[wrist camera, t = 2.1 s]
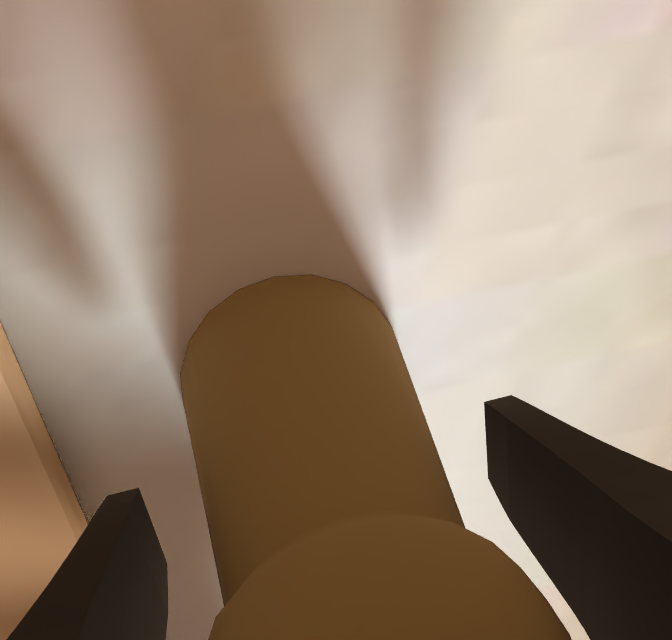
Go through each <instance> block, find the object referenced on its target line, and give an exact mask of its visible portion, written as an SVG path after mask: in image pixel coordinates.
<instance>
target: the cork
mask: <svg viewBox="0 0 672 640" xmlns="http://www.w3.org/2000/svg"><path fill="white" fill-rule="evenodd" d="M180 374H181V384H182V394H183V404H184V409H185V414H186V419H187V424H188V429H189V434H190V439H191V444H192V449H193V454H194V459H195V464H196V469H197V474H198V479H199V484H200V489H201V493H202V498H203V503H204V508H205V513H206V518H207V523H208V528H209V533H210V538H211V543H212V548H213V553H214V558H215V563H216V568H217V573H218V578H219V583H220V588H221V593H222V598H223V603H224V608H223V609H222V610H221V612H220V613H219V614H218V615H217V616H216V618H215V621H214V624H213V627H212V630H211V633H210V636H209V639H208V640H571V637H570V634H569V633H568V631H567V630H566V628H565V627H564V625H563V624H562V622H561V621H560V619H559V618H558V616H557V615H556V613H555V612H554V610H553V609H552V607H551V605H550V604H549V602H548V601H547V599H546V598H545V597H544V596H543V594H542V593H541V592H540V591H539V590H538V588H537V587H536V586H535V585H534V583H533V582H532V581H531V580H530V579H529V577H528V576H527V575H526V574H525V572H524V571H523V570H522V569H521V568H520V567H519V566H518V565H517V564H516V563H515V562H514V561H513V560H512V559H510V558H509V557H508V556H507V555H506V554H505V553H504V552H503V551H502V550H501V549H499V548H498V547H497V546H496V545H495V544H494V543H493V542H491V541H489V540H487V539H485V538H483V537H481V536H479V535H477V534H475V533H473V532H471V531H469V530H467V529H465V526H464V523H463V520H462V518H461V515H460V512H459V509H458V507H457V504H456V501H455V498H454V496H453V493H452V490H451V488H450V485H449V482H448V479H447V477H446V474H445V471H444V468H443V466H442V463H441V460H440V457H439V455H438V452H437V449H436V446H435V444H434V441H433V438H432V435H431V433H430V430H429V427H428V424H427V422H426V419H425V416H424V414H423V411H422V408H421V405H420V403H419V400H418V397H417V394H416V392H415V389H414V386H413V383H412V381H411V378H410V375H409V372H408V370H407V367H406V364H405V361H404V359H403V356H402V353H401V350H400V348H399V345H398V342H397V339H396V337H395V334H394V331H393V329H392V326H391V325H390V324H389V322H388V321H387V320H386V318H385V317H384V316H383V314H382V313H381V312H380V310H379V309H378V308H377V306H376V305H375V304H374V302H373V301H371V300H370V299H368V298H367V297H365V296H363V295H362V294H360V293H359V292H357V291H356V290H354V289H353V288H351V287H350V286H348V285H347V284H345V283H341V282H337V281H333V280H329V279H325V278H321V277H318V276H314V275H299V276H280V277H272V278H269V279H267V280H264V281H261V282H258V283H256V284H253V285H250V286H247V287H245V288H242V289H239V290H238V291H236V292H235V293H234V294H232V295H231V296H230V297H228V298H227V299H226V300H224V301H223V302H222V303H220V304H219V305H218V306H216V307H215V308H214V309H213V310H211V311H210V312H209V313H208V314H207V316H206V317H205V319H204V320H203V322H202V323H201V325H200V326H199V327H198V329H197V330H196V332H195V333H194V335H193V336H192V338H191V339H190V340H189V343H188V347H187V351H186V354H185V358H184V362H183V365H182V369H181V373H180Z"/></svg>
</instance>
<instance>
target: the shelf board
mask: <svg viewBox="0 0 672 640" xmlns="http://www.w3.org/2000/svg"><path fill="white" fill-rule="evenodd" d="M87 526H88V524H87V521H86V519H85V517H84V514H83V512H82V510H81V507H80V505H79V503H78V500H77V498H76V496H75V493H74V491H73V489H72V487H71V484H70V482H69V480H68V477H67V475H66V473H65V470H64V468H63V466H62V463H61V461H60V459H59V457H58V454H57V452H56V450H55V447H54V445H53V443H52V440H51V438H50V436H49V433H48V431H47V429H46V427H45V424H44V422H43V420H42V417H41V415H40V413H39V410H38V408H37V406H36V403H35V401H34V399H33V396H32V394H31V392H30V390H29V387H28V385H27V383H26V380H25V378H24V376H23V373H22V371H21V369H20V366H19V364H18V362H17V360H16V357H15V355H14V353H13V350H12V348H11V346H10V343H9V341H8V339H7V336H6V334H5V332H4V330H3V327H2V325H1V323H0V640H6V639H7V638H8V637H9V635H10V634H11V633H12V632H13V630H14V629H15V628H16V627H17V625H18V624H19V623H20V621H21V620H22V619H23V617H24V616H25V615H26V613H27V612H28V611H29V609H30V608H31V607H32V605H33V604H34V603H35V601H36V600H37V599H38V597H39V596H40V595H41V593H42V592H43V591H44V589H45V588H46V586H47V585H48V584H49V582H50V581H51V579H52V578H53V576H54V575H55V573H56V572H57V571H58V569H59V568H60V566H61V565H62V563H63V562H64V560H65V559H66V557H67V556H68V554H69V553H70V551H71V550H72V548H73V547H74V545H75V544H76V542H77V541H78V539H79V538H80V536H81V535H82V533H83V532H84V530H85V529H86V527H87Z"/></svg>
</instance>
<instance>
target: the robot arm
mask: <svg viewBox="0 0 672 640" xmlns="http://www.w3.org/2000/svg"><path fill="white" fill-rule="evenodd" d="M484 407H485V426H486V445H487V464H488V479H489V481H490V483H491V485H492V487H493V489H494V491H495V493H496V495H497V497H498V499H499V501H500V503H501V505H502V506H503V508H504V510H505V512H506V514H507V516H508V518H509V519H510V521H511V523H512V524H513V525H514V527H515V528H516V530H517V531H518V533H519V534H520V536H521V537H522V539H523V540H524V542H525V543H526V545H527V546H528V547H529V549H530V550H531V552H532V553H533V555H534V556H535V558H536V559H537V560H538V562H539V563H540V565H541V566H542V568H543V569H544V570H545V572H546V573H547V575H548V576H549V578H550V579H551V580H552V582H553V583H554V585H555V586H556V588H557V589H558V591H559V592H560V593H561V595H562V596H563V598H564V599H565V601H566V602H567V603H568V605H569V606H570V608H571V609H572V611H573V612H574V614H575V615H576V617H577V618H578V620H579V622H580V623H581V625H582V626H583V628H584V629H585V631H586V633H587V635H588V636H589V638H590V640H672V471H670V470H667V469H665V468H662V467H660V466H657V465H655V464H652V463H650V462H647V461H645V460H643V459H640V458H638V457H636V456H634V455H631V454H629V453H627V452H624V451H622V450H620V449H618V448H615V447H613V446H611V445H609V444H607V443H605V442H603V441H600V440H598V439H596V438H594V437H592V436H590V435H588V434H586V433H584V432H582V431H580V430H578V429H576V428H574V427H572V426H570V425H568V424H567V423H565V422H563V421H561V420H559V419H557V418H555V417H553V416H551V415H549V414H547V413H546V412H544V411H542V410H540V409H538V408H536V407H534V406H532V405H530V404H528V403H526V402H524V401H522V400H520V399H518V398H516V397H514V396H512V395H510V396H506V397H502V398H498V399H494V400H490V401H486V402H484ZM167 618H168V581H167V562H166V559H165V557H164V554H163V551H162V549H161V546H160V543H159V541H158V538H157V535H156V533H155V530H154V527H153V525H152V522H151V519H150V517H149V514H148V511H147V509H146V506H145V503H144V501H143V498H142V495H141V493H140V490H139V488H137V489H133V490H129V491H124V492H120V493H116V494H112V495H108V496H107V497H106V499H105V500H104V502H103V503H102V504H101V506H100V507H99V509H98V510H97V512H96V513H95V515H94V516H93V518H92V519H91V521H90V522H89V524H88V526H87V527H86V529H85V530H84V532H83V533H82V535H81V536H80V538H79V539H78V541H77V542H76V544H75V545H74V547H73V548H72V550H71V551H70V553H69V554H68V556H67V557H66V559H65V560H64V562H63V563H62V565H61V566H60V568H59V569H58V571H57V572H56V573H55V575H54V576H53V578H52V579H51V581H50V582H49V584H48V585H47V586H46V588H45V589H44V591H43V592H42V593H41V595H40V596H39V597H38V599H37V600H36V601H35V603H34V604H33V605H32V607H31V608H30V609H29V611H28V612H27V613H26V615H25V616H24V617H23V619H22V620H21V621H20V623H19V624H18V625H17V627H16V628H15V629H14V630H13V632H12V633H11V634H10V635H9V637H8V638H7V639H6V640H165V638H166V628H167Z"/></svg>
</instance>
